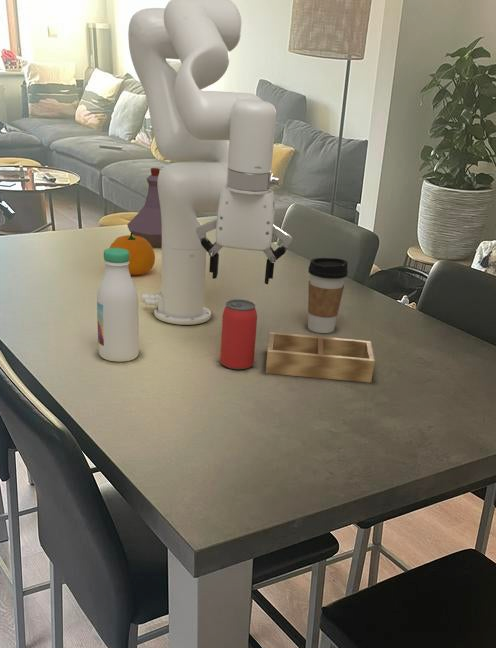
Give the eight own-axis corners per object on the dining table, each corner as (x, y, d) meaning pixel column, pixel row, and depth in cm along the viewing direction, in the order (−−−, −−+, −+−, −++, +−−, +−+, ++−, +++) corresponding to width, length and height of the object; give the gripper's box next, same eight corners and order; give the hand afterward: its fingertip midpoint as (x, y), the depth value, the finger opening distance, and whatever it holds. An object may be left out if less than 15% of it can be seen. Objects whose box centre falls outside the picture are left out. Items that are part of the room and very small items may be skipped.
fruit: (164, 272, 200) (164, 232, 194) (134, 281, 191) (134, 240, 186) (129, 262, 205) (128, 223, 199) (98, 271, 196) (97, 230, 191)
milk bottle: (145, 352, 153) (145, 249, 142) (127, 365, 147) (125, 258, 136) (110, 345, 155) (107, 242, 144) (91, 358, 149) (86, 251, 138)
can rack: (265, 373, 149) (267, 351, 146) (267, 353, 158) (269, 331, 155) (371, 383, 149) (374, 360, 146) (367, 362, 158) (370, 341, 155)
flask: (118, 246, 217) (116, 170, 206) (135, 233, 231) (135, 161, 220) (175, 253, 216) (176, 176, 205) (189, 240, 229) (191, 167, 218)
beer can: (219, 357, 154) (222, 297, 147) (252, 358, 155) (256, 299, 148) (220, 370, 148) (224, 308, 142) (254, 371, 149) (259, 310, 143)
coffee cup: (337, 337, 169) (347, 268, 160) (299, 332, 170) (306, 262, 161) (341, 325, 175) (350, 258, 167) (304, 320, 177) (312, 253, 168)
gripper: (298, 181, 137) (287, 277, 146) (201, 171, 137) (196, 268, 146) (298, 190, 130) (286, 290, 140) (196, 180, 130) (191, 280, 140)
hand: (240, 279), depth 143 cm, fingers open, 9 cm apart
